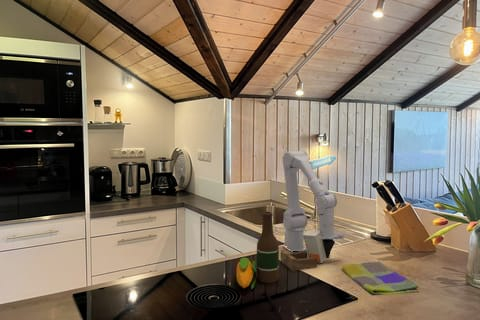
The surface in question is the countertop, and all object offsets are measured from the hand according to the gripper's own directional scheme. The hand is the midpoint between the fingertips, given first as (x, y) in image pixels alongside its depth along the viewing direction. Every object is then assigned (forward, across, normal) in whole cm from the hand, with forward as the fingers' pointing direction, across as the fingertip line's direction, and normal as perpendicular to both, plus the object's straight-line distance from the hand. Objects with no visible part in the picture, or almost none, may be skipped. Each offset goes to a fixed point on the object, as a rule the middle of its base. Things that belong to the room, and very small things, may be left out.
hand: (327, 257), depth 147 cm
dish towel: (+3, +7, -22) cm, 23 cm away
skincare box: (+1, -3, +1) cm, 4 cm away
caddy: (+2, -11, 0) cm, 12 cm away
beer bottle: (+2, -29, -10) cm, 30 cm away
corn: (+2, -37, -10) cm, 39 cm away
